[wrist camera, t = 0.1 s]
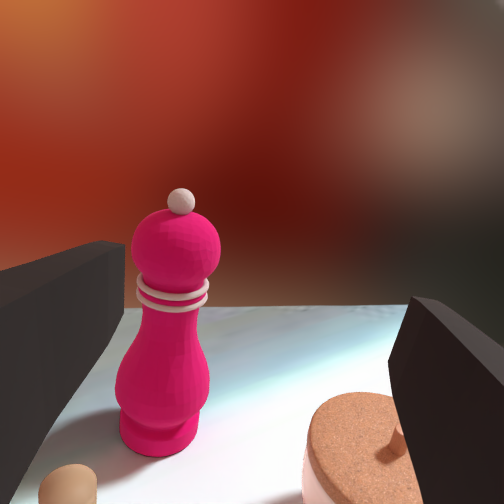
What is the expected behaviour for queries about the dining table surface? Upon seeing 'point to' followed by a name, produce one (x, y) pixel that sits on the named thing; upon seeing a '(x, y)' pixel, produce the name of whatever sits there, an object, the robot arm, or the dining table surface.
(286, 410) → the dining table surface
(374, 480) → the lidded jar
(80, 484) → the dowel
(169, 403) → the pepper mill
